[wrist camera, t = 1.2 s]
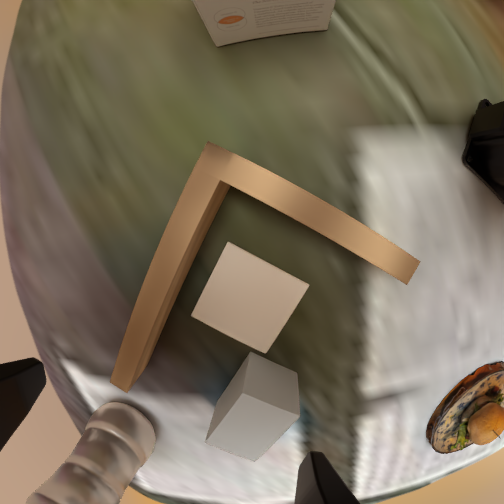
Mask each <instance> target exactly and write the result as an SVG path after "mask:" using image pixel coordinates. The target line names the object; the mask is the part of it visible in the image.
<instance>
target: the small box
mask: <svg viewBox="0 0 504 504" xmlns="http://www.w3.org/2000/svg"><path fill="white" fill-rule="evenodd" d="M192 1H193V3H194V5H195V7H196V9H197V11H198V13H199V14H200V16H201V18H202V20H203V22H204V24H205V26H206V28H207V30H208V32H209V34H210V36H211V38H212V40H213V42H214V43H215V45H216V46H217V47H219V46H222V45H227V44H231V43H236V42H240V41H246V40H251V39H256V38H262V37H268V36H275V35H281V34H289V33H297V32H306V31H319V30H327V29H328V26H329V22H330V19H331V15H332V12H333V8H334V5H335V1H336V0H192Z"/></svg>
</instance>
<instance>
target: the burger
mask: <svg viewBox="0 0 504 504" xmlns="http://www.w3.org/2000/svg"><path fill="white" fill-rule="evenodd" d="M503 430H504V362H503V361H501V363H496V365H489V364H486V365H484V366H483V367H480V368H478V369H477V370H476V372H475V374H474V375H471V376H469V375H468V376H467V377H465V378H464V379H463V380H461V381H460V382H459V383H458V384H457V385H456V386H455V387H454V388H453V389H452V390H451V391H450V392H449V393H448V395H447V396H446V397H445V398H444V399H443V400H442V402H441V403H440V404H439V406H438V407H437V408H436V410H435V411H434V413H433V415H432V416H431V418H430V421H429V423H428V425H427V430H426V438H428V440H430V439H431V440H430V441H429V443H430V444H431V445H432V448H433V449H434V450H435V451H436V452H438V453H441V454H444V453H446V454H447V453H452V452H456V451H459V450H462V449H464V448H466V447H468V446H470V445H471V444H473V443H474V444H477V445H484V444H487V443H490V442H492V441H493V440H495V439H496V438H497V437H499V435H500V434H501V433H502V431H503ZM499 438H500V437H499Z"/></svg>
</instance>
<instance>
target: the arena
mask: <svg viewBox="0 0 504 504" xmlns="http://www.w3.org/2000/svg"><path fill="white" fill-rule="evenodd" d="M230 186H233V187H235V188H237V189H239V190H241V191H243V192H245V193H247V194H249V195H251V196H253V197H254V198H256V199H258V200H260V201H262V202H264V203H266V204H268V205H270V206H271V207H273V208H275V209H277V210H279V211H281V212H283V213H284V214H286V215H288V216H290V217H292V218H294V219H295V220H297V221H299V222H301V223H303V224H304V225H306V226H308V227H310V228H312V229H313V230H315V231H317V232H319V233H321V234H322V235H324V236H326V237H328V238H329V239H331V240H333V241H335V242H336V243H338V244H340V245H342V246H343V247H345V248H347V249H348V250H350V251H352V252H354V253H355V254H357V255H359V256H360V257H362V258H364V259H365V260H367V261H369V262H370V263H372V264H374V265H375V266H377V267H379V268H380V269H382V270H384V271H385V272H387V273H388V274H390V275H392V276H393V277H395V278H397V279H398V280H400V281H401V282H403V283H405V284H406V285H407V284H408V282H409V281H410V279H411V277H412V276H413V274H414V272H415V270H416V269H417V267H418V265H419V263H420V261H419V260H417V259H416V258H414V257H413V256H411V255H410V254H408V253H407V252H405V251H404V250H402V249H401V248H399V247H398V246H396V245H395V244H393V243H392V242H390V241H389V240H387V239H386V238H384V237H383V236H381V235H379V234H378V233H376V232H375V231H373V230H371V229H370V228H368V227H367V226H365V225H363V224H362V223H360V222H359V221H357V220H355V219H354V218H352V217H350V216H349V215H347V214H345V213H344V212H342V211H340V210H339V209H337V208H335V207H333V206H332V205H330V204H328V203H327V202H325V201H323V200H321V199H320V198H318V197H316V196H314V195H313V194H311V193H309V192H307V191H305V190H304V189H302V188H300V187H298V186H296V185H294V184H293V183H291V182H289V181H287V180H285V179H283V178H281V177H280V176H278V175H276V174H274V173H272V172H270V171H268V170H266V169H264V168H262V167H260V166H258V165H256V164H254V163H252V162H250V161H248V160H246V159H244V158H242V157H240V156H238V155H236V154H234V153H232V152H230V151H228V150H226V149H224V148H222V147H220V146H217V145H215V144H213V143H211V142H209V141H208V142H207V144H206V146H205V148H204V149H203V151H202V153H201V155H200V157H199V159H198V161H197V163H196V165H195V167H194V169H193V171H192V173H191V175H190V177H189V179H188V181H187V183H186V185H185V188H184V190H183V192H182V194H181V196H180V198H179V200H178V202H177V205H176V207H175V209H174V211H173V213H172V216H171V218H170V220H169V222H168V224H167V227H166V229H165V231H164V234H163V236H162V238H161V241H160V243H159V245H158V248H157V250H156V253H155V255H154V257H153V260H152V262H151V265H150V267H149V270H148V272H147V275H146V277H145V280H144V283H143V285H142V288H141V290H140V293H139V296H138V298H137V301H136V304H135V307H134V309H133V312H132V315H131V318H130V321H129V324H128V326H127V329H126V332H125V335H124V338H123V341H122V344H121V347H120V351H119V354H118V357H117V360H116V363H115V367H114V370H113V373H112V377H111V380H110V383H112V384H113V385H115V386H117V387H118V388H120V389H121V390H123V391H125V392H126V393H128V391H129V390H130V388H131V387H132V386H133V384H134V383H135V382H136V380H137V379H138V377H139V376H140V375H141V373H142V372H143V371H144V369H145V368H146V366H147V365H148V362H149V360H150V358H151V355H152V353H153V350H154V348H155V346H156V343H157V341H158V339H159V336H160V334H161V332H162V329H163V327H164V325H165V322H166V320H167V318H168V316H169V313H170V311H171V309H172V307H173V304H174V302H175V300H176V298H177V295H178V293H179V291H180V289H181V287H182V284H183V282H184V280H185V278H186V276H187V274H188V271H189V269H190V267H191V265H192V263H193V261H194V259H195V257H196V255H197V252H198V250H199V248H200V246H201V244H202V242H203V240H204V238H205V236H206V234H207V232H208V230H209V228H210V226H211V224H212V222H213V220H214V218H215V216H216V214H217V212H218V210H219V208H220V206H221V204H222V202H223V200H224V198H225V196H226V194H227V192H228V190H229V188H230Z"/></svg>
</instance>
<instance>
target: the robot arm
mask: <svg viewBox="0 0 504 504" xmlns="http://www.w3.org/2000/svg"><path fill="white" fill-rule="evenodd" d="M485 104H486V105H485ZM486 106H487V107H486ZM468 157H469V159H470V162H469V161H468ZM463 163H464V164H465V165H466V166H467V167H468V168H469V169H470V170H471V171H472V172H473V173H474V174H475V175H476V176H477V177H478V178H479V179H480V180H481V181H482V182H483V183H485V185H486V186H487V187H488V188H489V189H490V190H491V191H492V192H493V193H494V194H495V195H496V196H497V197H498V198H499V199H500V200H501V201H502V202H503V203H504V101H503V102H500V103H497V104H494V105H492V104H491V103H490V102H489V101H488V100H487V99H483V100H481V102H480V105H479V108H478V110H477V111H476V114H475V117H474V120H473V123H472V126H471V130H470V133H469V140H468V143H467V146H466V149H465V151H464V154H463ZM45 385H46V375H45V370H44V365H43V363H42V362H41V361H39V360H38V359H36V358H27V359H22V360H18V361H13V362H8V363H3V364H0V451H1V450H2V448H3V447H4V446H5V444H6V443H7V441H8V440H9V438H10V437H11V436H12V435H13V433H14V432H15V430H16V429H17V428H18V426H19V425H20V424H21V422H22V421H23V420H24V419H25V417H26V416H27V414H28V413H29V411H30V410H31V408H32V406H33V405H34V403H35V401H36V400H37V398H38V396H39V395H40V393H41V392H42V390H43V388H44V387H45ZM295 504H360V503H359V501H358V500H357V499H356V497H355V496H354V495H353V493H352V492H351V491H350V489H349V488H348V487H347V485H346V484H345V483H344V481H343V480H342V479H341V477H340V476H339V474H338V473H337V472H336V470H335V469H334V467H333V466H332V465H331V463H330V462H329V460H328V459H327V458H326V456H325V455H324V454H323V453H322V452H316V451H310V452H308V454H307V455H306V457H305V458H304V460H303V461H302V463H301V465H300V467H299V470H298V479H297V487H296V496H295Z"/></svg>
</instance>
